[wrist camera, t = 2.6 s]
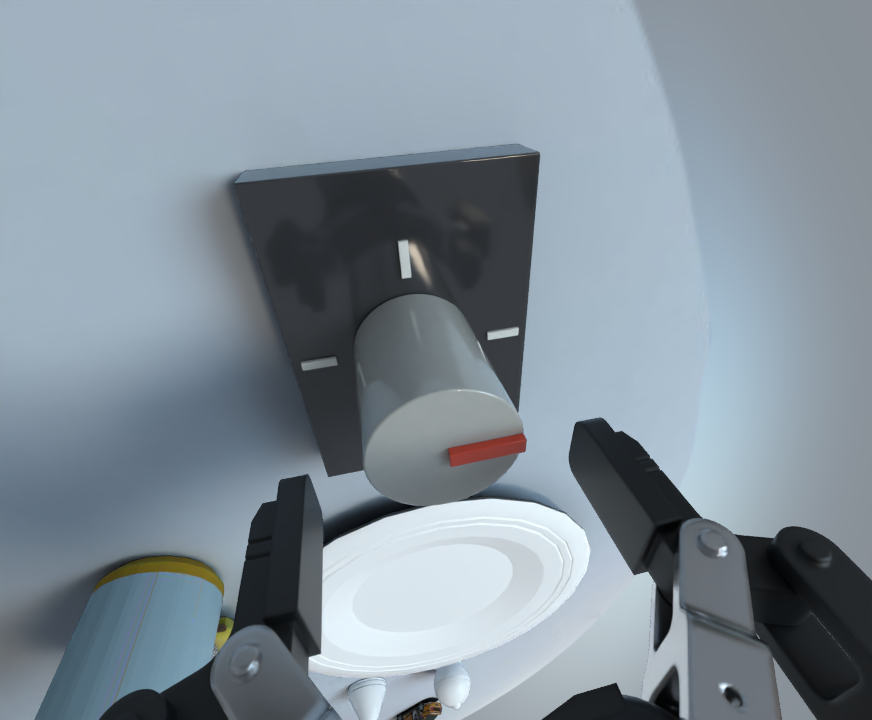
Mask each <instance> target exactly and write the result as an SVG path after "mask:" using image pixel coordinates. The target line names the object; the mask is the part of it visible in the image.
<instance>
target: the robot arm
mask: <svg viewBox="0 0 872 720" xmlns="http://www.w3.org/2000/svg"><path fill="white" fill-rule="evenodd" d="M569 464H570V468H571V471H572V473H573V475H574V477H575V478H576V480H577V482H578V483H579V485H580V487H581V488H582V490H583V492H584V493H585V495H586V497H587V498H588V500H589V502H590V503H591V505H592V507H593V508H594V510H595V511H596V513H597V515H598V516H599V518H600V520H601V521H602V523H603V525H604V526H605V528H606V530H607V531H608V533H609V535H610V536H611V538H612V540H613V541H614V543H615V545H616V546H617V548H618V550H619V551H620V553H621V555H622V556H623V558H624V560H625V561H626V563H627V564H628V566H629V568H630V569H631V571H632V573H633V574H634V575H636V574H640V573H644V572H649V574H650V575H651V577H652V578H653V580H654V581H653V584H652V598H651V616H650V617H651V618H650V635H649V653H648V660H647V665H646V668H645V672H644V677H643V683H642V694H641V699H640V698H637V697H632V696H628V695H622V694H621V692H620V690H619V688H618V686H617V683H614V684H611V685H607V686H604V687H600V688H597V689H594V690H591V691H587V692H584V693H580V694H577V695H574V696H573V697H571V698H570V699H569V700H567V701H566V702H565V703H564V704H562V705H561V706H560V707H558V708H557V709H555V710H554V711H553V712H551V713H550V714H549V715H548V716H546V717H545V718H543V719H542V720H782V716H781V709H780V703H779V696H778V690H777V683H776V678H775V670H774V663H773V658H774V659H775V660H776V662H777V663H778V664H779V666H780V668H781V669H782V670H783V672H784V673H785V675H786V676H787V677H788V679H789V680H790V682H791V683H792V685H793V686H794V687H795V689H796V690H797V691H798V693H799V695H800V696H801V697H802V699H803V700H804V702H805V703H806V705H807V706H808V707H809V709H810V710H811V712H812V713H813V714H814V716H815V717H816V719H817V720H872V580H871V579H870V578H869V577H868V576H866V574H865V573H864V572H863V571H862V570H861V569H860V568H859V567H858V566H857V565H856V564H855V563H854V562H853V561H851V559H850V558H849V557H848V556H847V555H846V554H845V553H844V552H843V551H842V550H841V549H840V548H839V547H838V546H836V545H835V544H834V543H833V542H832V541H830V540H829V539H827V538H826V537H824V536H823V535H821V534H819V533H817V532H814V531H812V530H809V529H806V528H802V527H795V526H791V527H786V528H783V529H782V530H780V531H779V533H778V534H777V535H776V537H775V538H765V537H754V536H742V535H736V534H733V533H732V532H731V531H729V530H728V529H727V528H725V527H724V526H722V525H720V524H718V523H716V522H714V521H711V520H708V519H703V518H702V517H701V516H700V515H699V514H698V513H697V512H696V511H695V510H694V508H693V507H692V506H691V505H690V504H689V502H688V501H687V500H686V499H685V498H684V497H683V495H682V494H681V493H680V492H679V490H678V489H677V488H676V487H675V486H674V484H673V483H672V482H671V481H670V480H669V478H668V477H667V476H666V475H665V474H664V472H663V471H662V470H661V471H660V469H659V466H658V465H657V464H656V463H655V462H654V460H653V459H650V456H649V454H648V453H647V452H646V451H645V450H644V448H643V447H642V446H641V445H640V444H639V442H637V441H636V440H634V439H633V438H631V437H630V436H628V435H627V434H625V433H624V432H622V431H620V432H614V430H613V429H612V428H611V427H610V425H609V424H608V423H607V422H606V421H605V420H604V419H603V418H595V419H590V420H585V421H579V422H576V424H575V426H574V431H573V436H572V441H571V446H570V451H569ZM245 558H246V561H245V562H244V568H243V573H242V579H241V585H240V590H239V596H238V602H237V607H236V613H235V619H234V623H233V628H232V630H231V633H230V635H229V637H228V639H227V641H226V642H225V643H224V645H223V646H222V647H221V648H220V650H219V652H218V653H217V655H216V656H215V657H214V658H213V659H212V660H211V661H210V662H209V663H207V664H206V665H205V666H204V667H202V668H201V669H199V670H198V671H196V672H194V673H193V674H191V675H189V676H188V677H186V678H184V679H183V680H181V681H179V682H178V683H176V684H174V685H173V686H171V687H169V688H168V689H166V690H164V691H163V692H161V693H158V692H157V691H155V690H151V689H141V690H136V691H134V692H131V693H129V694H127V695H125V696H124V697H122V698H121V699H119V700H118V701H116V702H115V703H114V704H113V705H112V706H111V707H109V708H108V709H107V711H106V712H105V713H104V714H103V715H102V716H101V717H100V719H99V720H342V719H341V717H340V716H339V715H338V713H337V712H336V711H335V710H334V708H333V707H332V706H331V705H330V704H329V703H328V702H327V700H326V699H325V698H324V696H323V695H322V694H321V692H320V691H319V690H318V688H317V687H316V686H315V684H314V683H313V682H312V680H311V679H310V678H309V676H308V667H309V657H311V656H315V655H319V654H321V637H322V574H323V518H322V511H321V507H320V504H319V501H318V498H317V496H316V493H315V490H314V487H313V485H312V482H311V479H310V477H309V475H308V474H307V475H302V476H296V477H291V478H286V479H281V480H280V482H279V486H278V493H277V501H272V502H267V503H262V505H261V507H260V508H259V510H258V512H257V514H256V515H255V517H254V519H253V520H252V522H251V528H250V533H249V539H248V545H247V550H246V556H245ZM813 614H814V615H815V616H816V617H815V616H814V615H813ZM818 620H819V621H820V622H821V623H820V622H819V621H818ZM823 626H824V627H825V628H826V629H825V628H824V627H823ZM828 632H829V633H830V634H831V635H830V634H829V633H828ZM756 633H757V635H758V636H759V638H760V639H759V638H758V637H757V635H756ZM832 636H833V637H832ZM833 638H834V639H835V640H836V641H835V640H834V639H833ZM838 644H839V645H840V646H841V647H840V646H839V645H838ZM843 650H844V651H845V652H846V653H845V652H844V651H843ZM772 656H773V658H772ZM848 656H849V657H850V658H849V657H848Z"/></svg>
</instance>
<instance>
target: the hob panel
mask: <svg viewBox="0 0 872 720" xmlns="http://www.w3.org/2000/svg"><path fill="white" fill-rule="evenodd" d="M539 162H540V152H538V151H535V150H533V149H530V148H528V147H525V146H523V145H520V144H510V145H500V146H490V147H480V148H470V149H460V150H450V151H440V152H429V153H419V154H409V155H399V156H389V157H379V158H369V159H359V160H349V161H338V162H328V163H318V164H308V165H298V166H288V167H278V168H268V169H258V170H247V171H244V172H243V173H242V174H241V175H240V176H239V178H238V179H237V180H236V181H235V182H234V184H233V186H234V189H235V192H236V195H237V198H238V201H239V204H240V207H241V210H242V213H243V216H244V220H245V223H246V226H247V229H248V232H249V235H250V238H251V241H252V244H253V247H254V250H255V253H256V256H257V260H258V263H259V266H260V269H261V272H262V275H263V278H264V281H265V284H266V287H267V290H268V293H269V296H270V300H271V303H272V306H273V309H274V312H275V315H276V318H277V321H278V324H279V327H280V330H281V333H282V336H283V340H284V343H285V346H286V349H287V352H288V355H289V358H290V361H291V364H292V367H293V370H294V373H295V376H296V380H297V383H298V386H299V389H300V392H301V395H302V398H303V401H304V404H305V407H306V410H307V413H308V416H309V420H310V423H311V426H312V429H313V432H314V435H315V438H316V441H317V444H318V447H319V450H320V453H321V456H322V460H323V463H324V466H325V469H326V472H327V475H328V477H332V476H337V475H342V474H347V473H351V472H356V471H361V470H364V467H363V459H362V447H361V436H360V424H359V412H358V401H357V389H356V377H355V366H354V354H353V346H354V340H355V336H356V333H357V331H358V329H359V327H360V325H361V324H362V322H363V321H364V320H365V318H366V317H367V316H368V315H369V314H370V313H371V312H372V311H373V310H374V309H376V308H377V307H378V306H380V305H382V304H383V303H385V302H387V301H389V300H391V299H394V298H397V297H400V296H404V295H411V294H426V295H432V296H436V297H439V298H442V299H444V300H447V301H448V302H450V303H452V304H453V305H455V306H456V307H457V308H458V309H459V310H460V311H461V312H462V313H463V315H464V316H465V318H466V319H467V321H468V323H469V325H470V326H471V328H472V330H473V332H474V334H475V336H476V337H477V339H478V341H479V343H480V345H481V346H482V348H483V350H484V352H485V354H486V356H487V357H488V359H489V361H490V363H491V365H492V366H493V368H494V370H495V372H496V374H497V376H498V377H499V379H500V381H501V383H502V385H503V387H504V388H505V390H506V392H507V394H508V396H509V397H510V399H511V401H512V403H513V405H514V407H515V408H516V410H517V412H518V411H519V399H520V387H521V375H522V363H523V351H524V340H525V328H526V316H527V304H528V292H529V280H530V269H531V257H532V245H533V233H534V221H535V210H536V198H537V186H538V174H539Z"/></svg>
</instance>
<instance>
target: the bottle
mask: <svg viewBox="0 0 872 720" xmlns="http://www.w3.org/2000/svg"><path fill="white" fill-rule="evenodd" d="M223 595H224V585H223V582H222V581H221V580H220V578H219V577H218V576H217V574H216V573H215V572H214V571H213V569H212V568H211V567H209V566H207V565H205V564H204V563H202V562H200V561H196V560H192V559H189V558H185V557H175V556H159V557H148V558H144V559H139V560H135V561H132V562H130V563H128V564H125V565H123V566H121V567H119V568H118V569H116V570H114V571H113V572H111V573H110V574H108V575H106V576H105V577H104V578H103V579H102V580H100V581H99V582H98V583H97V585H96V586H95V589H94V591H93V593H92V595H91V596H90V598H89V600H88V603H87V605H86V607H85V609H84V611H83V614H82V616H81V618H80V620H79V622H78V625H77V627H76V629H75V631H74V634H73V636H72V638H71V640H70V642H69V645H68V647H67V649H66V651H65V653H64V656H63V658H62V660H61V662H60V664H59V667H58V669H57V671H56V673H55V676H54V678H53V680H52V682H51V684H50V687H49V689H48V691H47V693H46V695H45V698H44V700H43V702H42V704H41V707H40V709H39V711H38V713H37V715H36V718H35V720H99V719H100V717H101V716H102V715H103V714H104V713H105V712H106V711H107V709H108V708H109V707H111V706H112V705H113V704H114V703H115V702H116V701H118V700H119V699H121V698H122V697H124V696H125V695H127V694H129V693H131V692H134V691H136V690H141V689H151V690H155V691H157V692H158V693H161V692H163V691H164V690H166V689H168V688H169V687H171V686H173V685H174V684H176V683H178V682H179V681H181V680H183V679H184V678H186V677H188V676H189V675H191V674H193V673H194V672H196V671H198V670H199V669H201V668H202V667H204V666H205V665H206V664H207V663H209V662H210V661H211V658H212V653H213V648H214V643H215V638H216V633H217V628H218V623H219V618H220V613H221V608H222V603H223Z"/></svg>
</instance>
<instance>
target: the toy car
mask: <svg viewBox="0 0 872 720" xmlns="http://www.w3.org/2000/svg"><path fill="white" fill-rule="evenodd" d="M436 701H438V698H428V699H425V700H423V701H421V702H419V703H418V704H416V705H414V706H413V707H411V708H409V709H407V710H406V711H404V712H402V713H400V714H398V715H397V720H434V719H435V718H436V717H437V715H441V712H442V706H441V703H438V702H436Z"/></svg>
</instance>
